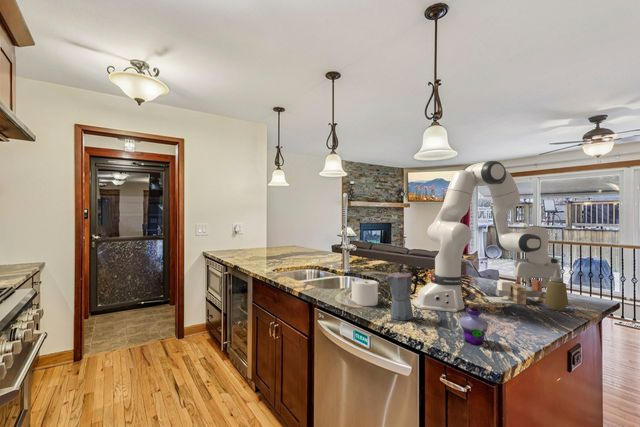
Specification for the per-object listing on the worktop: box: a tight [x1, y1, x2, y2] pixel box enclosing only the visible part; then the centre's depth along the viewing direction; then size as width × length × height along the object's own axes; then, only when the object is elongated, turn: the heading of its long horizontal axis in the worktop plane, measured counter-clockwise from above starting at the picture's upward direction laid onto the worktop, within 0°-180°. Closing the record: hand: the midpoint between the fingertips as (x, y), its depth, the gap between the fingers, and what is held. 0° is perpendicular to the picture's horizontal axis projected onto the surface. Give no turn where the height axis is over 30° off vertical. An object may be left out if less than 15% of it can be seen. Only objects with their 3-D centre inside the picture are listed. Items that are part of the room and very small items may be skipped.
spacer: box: [496, 279, 512, 291], centre depth 147 cm, size 4×4×4 cm
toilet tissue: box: [350, 279, 379, 307], centre depth 141 cm, size 11×12×10 cm
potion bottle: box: [459, 304, 490, 346], centre depth 98 cm, size 9×9×12 cm
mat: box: [484, 296, 517, 305], centre depth 147 cm, size 10×10×1 cm
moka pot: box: [385, 267, 420, 321], centre depth 122 cm, size 10×15×20 cm, turn 113°
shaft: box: [495, 278, 543, 298], centre depth 147 cm, size 20×4×8 cm, turn 85°
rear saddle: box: [534, 291, 547, 305], centre depth 146 cm, size 4×8×4 cm, turn 175°
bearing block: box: [503, 281, 527, 306], centre depth 147 cm, size 4×12×8 cm, turn 175°
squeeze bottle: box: [545, 269, 569, 312], centre depth 134 cm, size 8×8×18 cm
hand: (536, 287), depth 146 cm, fingers open, 5 cm apart
